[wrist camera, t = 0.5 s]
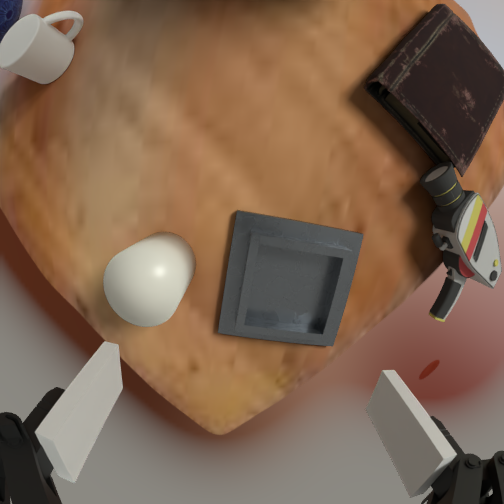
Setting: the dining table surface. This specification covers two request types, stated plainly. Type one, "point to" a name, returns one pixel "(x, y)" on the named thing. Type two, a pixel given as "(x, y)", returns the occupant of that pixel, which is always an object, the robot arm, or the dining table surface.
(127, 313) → the plug
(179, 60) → the dining table surface
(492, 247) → the film camera
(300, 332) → the grey square tray
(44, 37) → the mug
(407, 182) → the dining table surface
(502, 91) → the diary
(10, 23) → the planter
